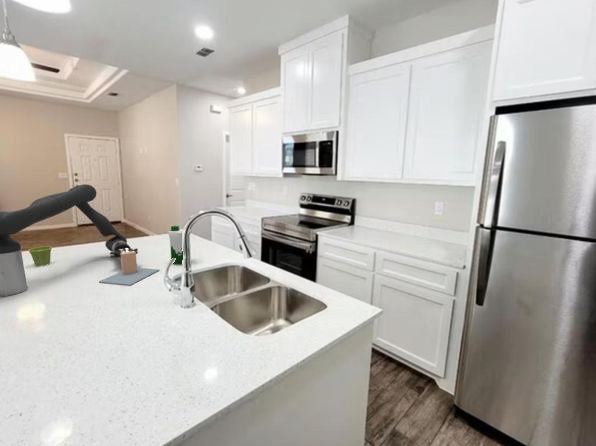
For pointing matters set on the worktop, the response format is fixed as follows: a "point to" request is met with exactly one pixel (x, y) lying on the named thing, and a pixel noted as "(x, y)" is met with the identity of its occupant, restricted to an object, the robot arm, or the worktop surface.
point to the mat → (129, 277)
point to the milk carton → (176, 244)
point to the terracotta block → (128, 262)
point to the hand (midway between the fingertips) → (127, 256)
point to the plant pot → (41, 255)
